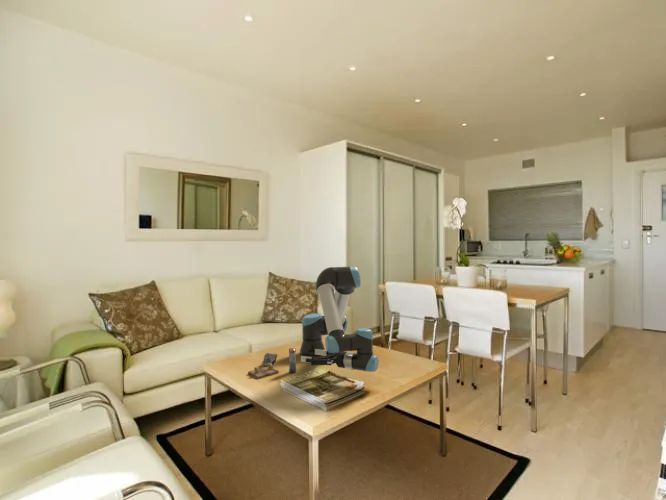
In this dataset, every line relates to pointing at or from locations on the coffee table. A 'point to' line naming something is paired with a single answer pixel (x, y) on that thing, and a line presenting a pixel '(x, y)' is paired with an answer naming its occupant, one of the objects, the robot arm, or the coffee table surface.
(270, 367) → the peg rack
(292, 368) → the pin
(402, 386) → the coffee table surface
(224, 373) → the coffee table surface
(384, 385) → the coffee table surface
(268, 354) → the mineral specimen
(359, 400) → the coffee table surface
